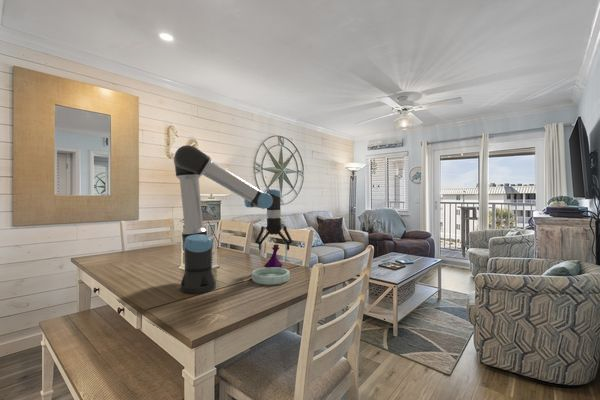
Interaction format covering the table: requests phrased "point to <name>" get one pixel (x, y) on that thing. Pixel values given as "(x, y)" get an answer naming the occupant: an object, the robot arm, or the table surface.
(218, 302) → the table surface
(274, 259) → the perfume bottle
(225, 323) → the table surface
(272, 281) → the round tray
